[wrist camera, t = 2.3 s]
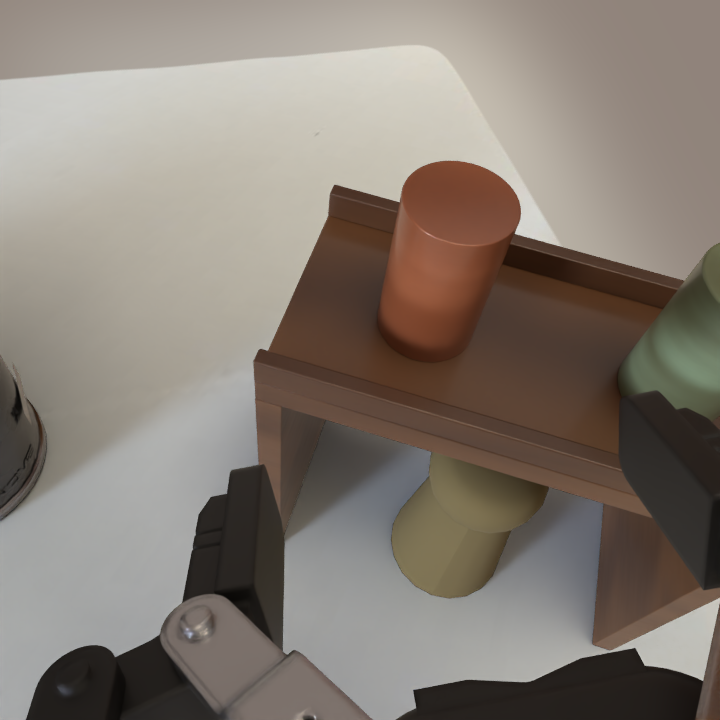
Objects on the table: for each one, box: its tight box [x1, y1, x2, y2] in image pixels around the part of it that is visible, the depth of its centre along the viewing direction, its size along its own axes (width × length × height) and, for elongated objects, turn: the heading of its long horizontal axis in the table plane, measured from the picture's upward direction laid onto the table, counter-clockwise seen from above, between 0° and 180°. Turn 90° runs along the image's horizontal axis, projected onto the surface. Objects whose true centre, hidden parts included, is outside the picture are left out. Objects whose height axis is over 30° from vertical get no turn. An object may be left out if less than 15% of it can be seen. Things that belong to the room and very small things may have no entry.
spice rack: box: [253, 161, 720, 650], centre depth 29 cm, size 9×19×22 cm, turn 73°
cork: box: [391, 452, 549, 598], centre depth 33 cm, size 6×6×11 cm
